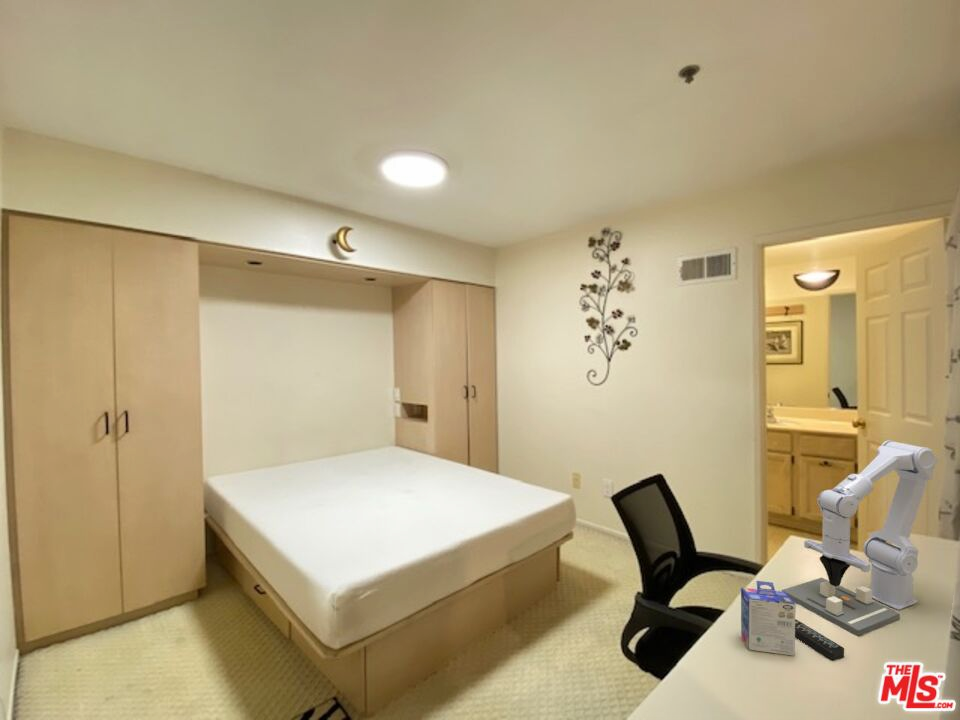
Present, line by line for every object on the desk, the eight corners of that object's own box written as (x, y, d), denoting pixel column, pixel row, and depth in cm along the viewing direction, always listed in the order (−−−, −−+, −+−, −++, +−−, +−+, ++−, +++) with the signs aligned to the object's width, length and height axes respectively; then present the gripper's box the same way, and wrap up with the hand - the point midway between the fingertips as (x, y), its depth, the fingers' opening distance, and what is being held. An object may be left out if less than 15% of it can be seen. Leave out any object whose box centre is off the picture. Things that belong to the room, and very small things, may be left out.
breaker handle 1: (831, 606, 110) (831, 594, 110) (844, 613, 107) (844, 601, 107) (823, 609, 109) (824, 597, 109) (837, 616, 106) (837, 604, 106)
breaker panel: (821, 582, 125) (821, 577, 124) (899, 619, 108) (900, 613, 108) (781, 595, 118) (781, 589, 118) (858, 636, 101) (858, 630, 101)
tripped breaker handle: (824, 591, 117) (824, 579, 117) (836, 597, 114) (837, 585, 114) (817, 593, 116) (818, 582, 116) (830, 599, 113) (830, 587, 113)
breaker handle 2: (860, 596, 115) (860, 584, 115) (873, 602, 112) (874, 590, 112) (853, 598, 114) (854, 587, 114) (867, 604, 111) (867, 593, 111)
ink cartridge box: (784, 640, 100) (785, 581, 99) (796, 657, 94) (798, 594, 94) (738, 634, 102) (740, 576, 101) (748, 650, 96) (750, 589, 96)
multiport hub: (831, 662, 93) (832, 652, 93) (782, 631, 104) (782, 622, 104) (844, 658, 95) (845, 648, 95) (795, 627, 105) (795, 618, 105)
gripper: (797, 527, 119) (796, 574, 119) (859, 550, 105) (858, 603, 105) (813, 523, 121) (812, 569, 122) (875, 545, 108) (874, 596, 108)
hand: (834, 584), depth 114 cm, fingers closed
